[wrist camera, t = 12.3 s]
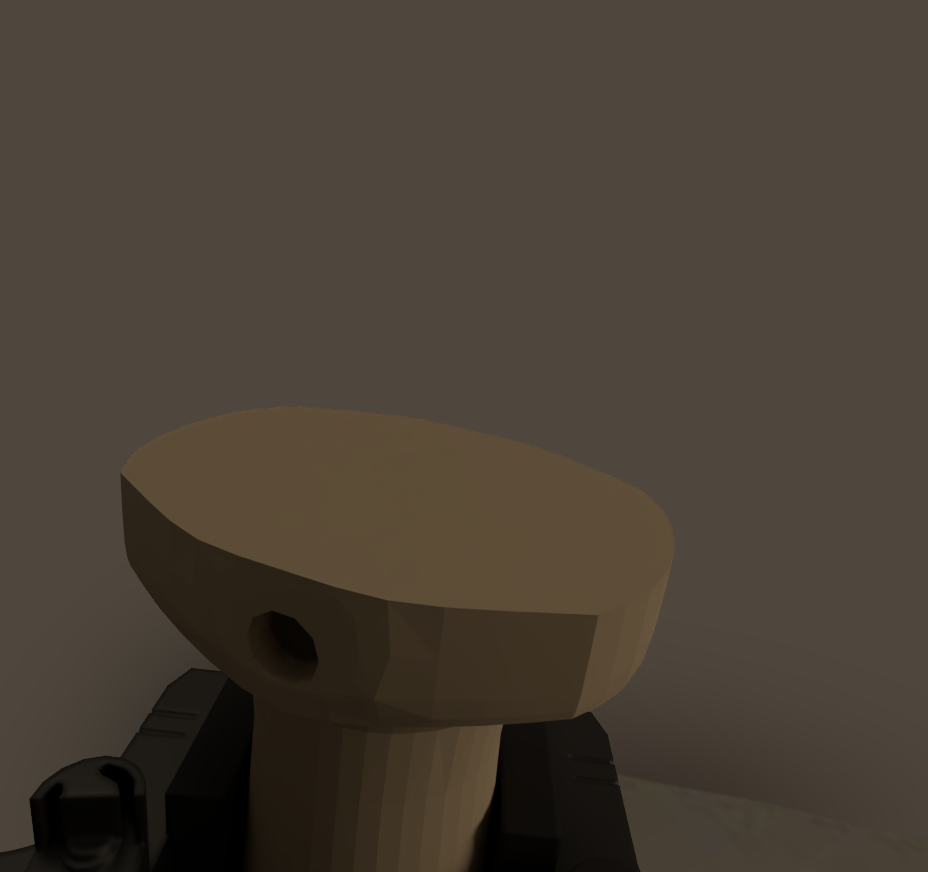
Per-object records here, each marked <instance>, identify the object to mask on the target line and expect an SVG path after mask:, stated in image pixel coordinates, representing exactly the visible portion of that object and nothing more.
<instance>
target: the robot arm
mask: <svg viewBox="0 0 928 872" xmlns="http://www.w3.org/2000/svg"><path fill="white" fill-rule="evenodd" d="M253 727H254V701H253V694H251V693H249V692H248V691H246V690H244V689H242V688H241V687H240V686H239V685H238V684H236V683H235V682H234V681H233V680H232V679H230V678H229V677H228V676H227V675H226V674H224V673H223V672H222V671H214V670H205V669H195V668H191V669H190V670H188V671H187V672H186V673H184V674H183V675H182V676H180V677H179V678H178V679H176V680H175V681H174V682H172V683H171V684H170V685H168V686H167V687H166V689H165V691H164V692H163V694H162V695H161V697H160V698H159V700H158V701H157V703H156V704H155V706H154V707H153V709H152V713H149V715H148V716H147V718H146V719H145V721H144V722H143V724H142V725H141V727H140V730H139V733H136V734H135V736H134V737H133V739H132V741H131V742H130V743H129V745H128V747H127V748H126V750H125V751H124V753H123V754H122V756H121V757H120V758H119V757H112V756H101V757H95V758H88V759H83V760H81V761H79V762H76V763H74V764H71V765H69V766H66V767H64V768H62V769H60V770H59V771H57V772H56V773H55V774H53V775H52V776H51V777H49V778H48V779H46V780H45V781H44V782H42V784H41V785H40V786H39V788H38V789H37V790H36V792H35V793H34V794H33V795H32V796H31V798H30V799H29V800H30V808H31V816H32V824H33V832H34V841H35V844H34V845H31V846H28V847H24V848H20V849H16V850H12V851H6V852H0V872H242V865H243V854H244V841H245V829H246V816H247V803H248V790H249V778H250V765H251V752H252V740H253ZM486 872H640V869H639V867H638V864H637V860H636V855H635V851H634V847H633V842H632V838H631V834H630V829H629V825H628V821H627V816H626V812H625V808H624V803H623V799H622V795H621V791H620V786H618V778H617V773H616V769H615V765H613V756H612V752H611V748H610V743H609V739H608V735H607V733H606V732H605V731H604V729H603V728H602V726H601V725H600V724H599V722H598V721H597V720H596V718H595V717H594V716H593V714H592V713H591V712H585V713H583V714H581V715H579V716H577V717H575V718H573V719H566V720H555V721H544V722H533V723H519V724H504V725H503V727H502V731H501V736H500V745H499V754H498V763H497V772H496V781H495V790H494V799H493V808H492V817H491V826H490V835H489V844H488V853H487V862H486Z"/></svg>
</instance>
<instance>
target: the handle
mask: <svg viewBox="0 0 928 872" xmlns="http://www.w3.org/2000/svg"><path fill="white" fill-rule="evenodd" d="M120 474H121V492H122V511H123V525H124V537H125V546H126V552H127V557H128V560H129V562H130V565H131V567H132V568H133V570H134V571H135V573H136V574H137V576H138V578H139V579H140V581H141V582H142V584H143V585H144V587H145V588H146V590H147V591H148V592H149V594H150V595H151V597H152V598H153V599H154V601H155V602H156V604H157V605H158V606H159V608H160V609H161V610H162V611H163V612H164V614H165V615H166V616H167V617H168V618H169V619H170V621H171V622H172V623H173V624H174V625H175V626H176V627H177V629H178V630H179V631H180V632H181V633H182V634H183V635H184V636H185V637H186V638H187V639H188V640H189V641H190V642H191V643H192V644H193V645H194V646H195V647H196V648H197V649H198V650H199V651H200V652H201V653H202V654H203V655H204V656H205V657H206V658H207V659H208V660H209V661H210V662H211V663H213V664H214V665H215V666H216V667H217V668H219V669H220V670H221V671H222V672H223V673H224V674H226V675H227V676H228V677H229V678H230V679H232V680H233V681H234V682H235V683H236V684H238V685H239V686H240V687H241V688H242V689H244V690H246V691H248V692H249V693H251V694H253V701H254V727H253V740H252V752H251V765H250V778H249V790H248V803H247V816H246V829H245V841H244V854H243V865H242V872H486V862H487V853H488V844H489V835H490V826H491V817H492V808H493V799H494V790H495V781H496V772H497V763H498V754H499V745H500V736H501V731H502V727H503V725H504V724H519V723H533V722H544V721H555V720H566V719H573V718H575V717H577V716H579V715H581V714H583V713H585V712H588V711H590V710H591V709H594V708H596V707H598V706H600V705H601V704H603V703H604V702H606V701H607V700H608V699H610V698H611V697H613V696H614V695H616V694H617V693H618V692H620V691H621V690H622V689H623V688H624V687H625V685H626V684H627V683H628V681H629V680H630V679H631V677H632V676H633V674H634V673H635V672H636V670H637V669H638V667H639V666H640V664H641V663H642V661H643V659H644V656H645V653H646V651H647V648H648V645H649V643H650V640H651V637H652V634H653V631H654V628H655V625H656V623H657V619H658V615H659V611H660V608H661V604H662V600H663V596H664V593H665V589H666V584H667V581H668V577H669V572H670V568H671V564H672V560H673V556H674V533H673V530H672V527H671V525H670V522H669V520H668V517H667V515H666V514H665V513H664V512H663V511H662V509H661V508H660V507H659V506H658V505H657V503H656V502H655V501H654V500H653V499H651V498H650V497H649V496H648V495H647V494H646V493H645V492H643V491H642V490H641V489H639V488H637V487H635V486H632V485H630V484H628V483H625V482H623V481H621V480H618V479H616V478H614V477H611V476H609V475H606V474H604V473H602V472H600V471H597V470H595V469H593V468H590V467H588V466H585V465H583V464H580V463H578V462H575V461H573V460H571V459H568V458H566V457H563V456H561V455H558V454H556V453H553V452H550V451H547V450H544V449H541V448H538V447H536V446H533V445H529V444H525V443H522V442H518V441H515V440H511V439H507V438H503V437H499V436H495V435H491V434H486V433H481V432H478V431H473V430H468V429H465V428H460V427H456V426H451V425H447V424H443V423H438V422H432V421H428V420H422V419H417V418H412V417H404V416H397V415H389V414H381V413H371V412H360V411H348V410H337V409H323V408H311V407H299V406H282V407H270V408H261V409H253V410H245V411H239V412H235V413H230V414H225V415H220V416H216V417H212V418H209V419H205V420H202V421H199V422H195V423H192V424H189V425H186V426H184V427H181V428H178V429H176V430H174V431H171V432H169V433H166V434H164V435H162V436H160V437H158V438H156V439H155V440H153V441H151V442H149V443H147V444H146V445H144V446H142V447H141V448H139V449H138V451H136V453H134V454H133V455H132V456H131V457H130V458H129V459H128V461H127V463H126V464H125V466H124V467H123V469H122V471H121V473H120Z"/></svg>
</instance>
